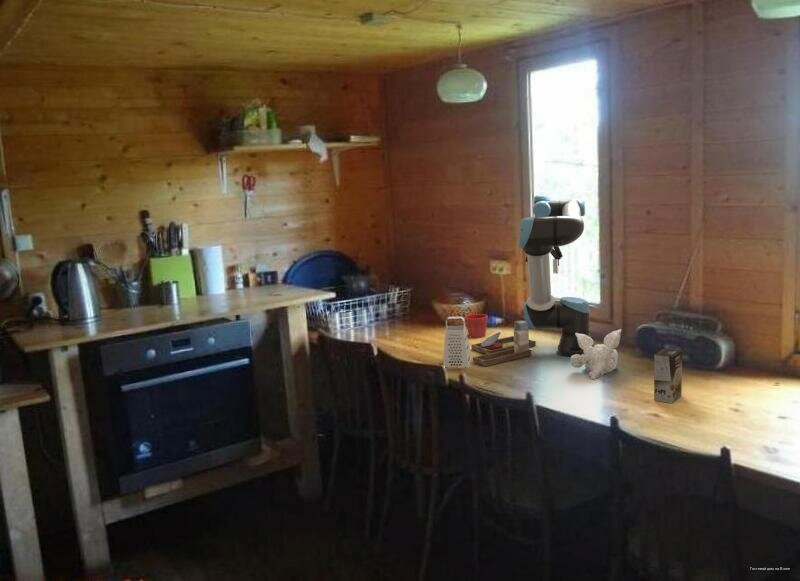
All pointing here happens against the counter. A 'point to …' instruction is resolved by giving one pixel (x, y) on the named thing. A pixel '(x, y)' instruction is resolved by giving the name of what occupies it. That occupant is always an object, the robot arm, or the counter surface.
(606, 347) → the white sculpted figure
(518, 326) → the lane
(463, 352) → the grater
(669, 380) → the coffee box
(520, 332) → the lane
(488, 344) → the canned food
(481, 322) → the flower pot
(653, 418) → the counter surface
